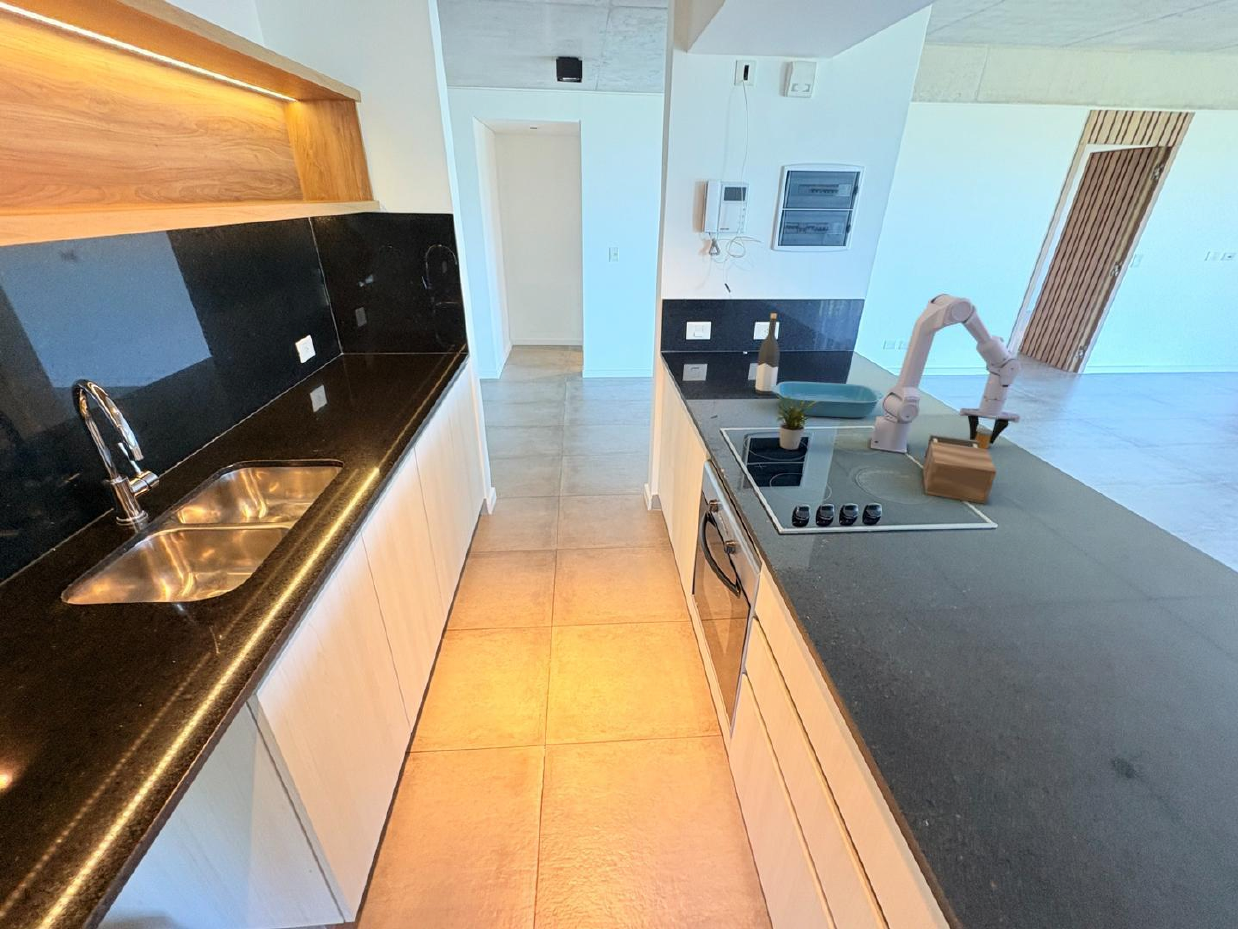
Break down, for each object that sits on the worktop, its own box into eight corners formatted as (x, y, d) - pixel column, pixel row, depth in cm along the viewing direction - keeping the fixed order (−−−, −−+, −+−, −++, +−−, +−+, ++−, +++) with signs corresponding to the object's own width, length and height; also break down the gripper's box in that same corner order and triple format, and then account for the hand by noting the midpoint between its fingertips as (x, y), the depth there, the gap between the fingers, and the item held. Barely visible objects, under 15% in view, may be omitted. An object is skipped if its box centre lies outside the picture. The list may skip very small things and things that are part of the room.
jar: (971, 447, 157) (976, 432, 155) (969, 441, 160) (974, 427, 158) (989, 449, 155) (994, 434, 153) (987, 444, 159) (992, 429, 157)
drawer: (923, 450, 152) (929, 428, 149) (969, 457, 148) (976, 434, 145) (927, 475, 137) (933, 451, 134) (978, 483, 133) (986, 459, 130)
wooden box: (922, 470, 142) (930, 441, 138) (977, 479, 137) (987, 449, 133) (925, 493, 130) (934, 462, 126) (985, 504, 125) (996, 471, 121)
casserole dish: (771, 416, 182) (773, 396, 179) (768, 397, 202) (770, 378, 199) (885, 423, 175) (890, 402, 172) (871, 403, 195) (874, 384, 192)
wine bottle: (778, 390, 209) (787, 313, 197) (771, 396, 203) (781, 316, 190) (758, 387, 213) (766, 311, 201) (751, 392, 207) (759, 314, 194)
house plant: (751, 445, 158) (757, 393, 151) (773, 433, 167) (780, 383, 160) (796, 459, 149) (804, 403, 142) (817, 445, 158) (826, 392, 152)
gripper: (966, 398, 151) (954, 442, 156) (1027, 404, 145) (1012, 450, 151) (963, 391, 157) (951, 434, 162) (1022, 397, 151) (1007, 441, 157)
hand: (980, 441), depth 157 cm, fingers closed on jar, 4 cm apart
